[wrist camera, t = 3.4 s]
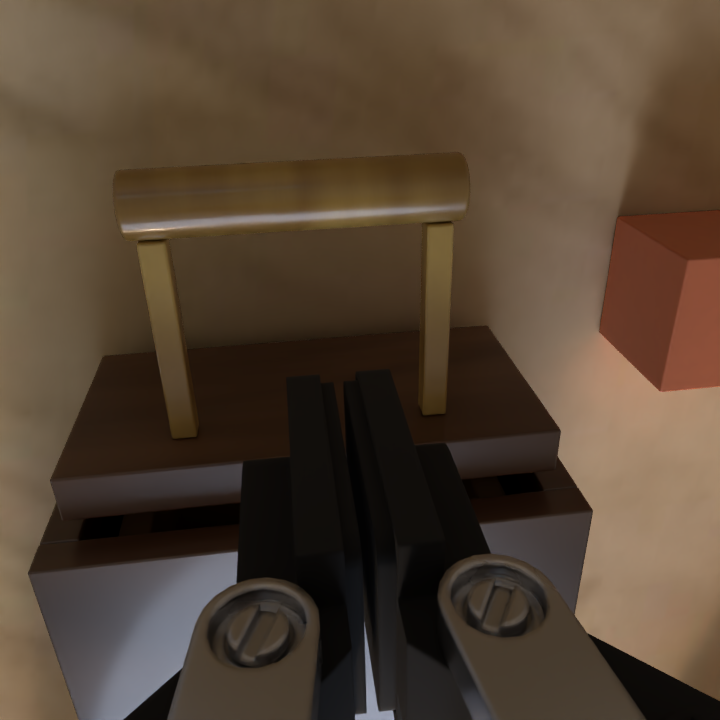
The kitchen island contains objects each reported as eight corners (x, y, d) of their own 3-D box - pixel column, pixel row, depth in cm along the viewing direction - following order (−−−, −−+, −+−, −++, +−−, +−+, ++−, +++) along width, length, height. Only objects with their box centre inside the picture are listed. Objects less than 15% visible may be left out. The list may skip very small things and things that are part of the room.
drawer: (52, 135, 17) (-38, 195, 12) (502, 114, 18) (599, 161, 13) (173, 666, 26) (152, 829, 21) (465, 628, 28) (513, 774, 22)
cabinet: (99, 390, 22) (26, 573, 15) (493, 357, 23) (593, 510, 16) (172, 694, 28) (145, 914, 22) (470, 655, 30) (533, 850, 23)
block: (598, 332, 23) (659, 392, 19) (616, 215, 21) (688, 259, 18) (709, 323, 23) (789, 380, 20) (737, 208, 21) (831, 249, 18)
